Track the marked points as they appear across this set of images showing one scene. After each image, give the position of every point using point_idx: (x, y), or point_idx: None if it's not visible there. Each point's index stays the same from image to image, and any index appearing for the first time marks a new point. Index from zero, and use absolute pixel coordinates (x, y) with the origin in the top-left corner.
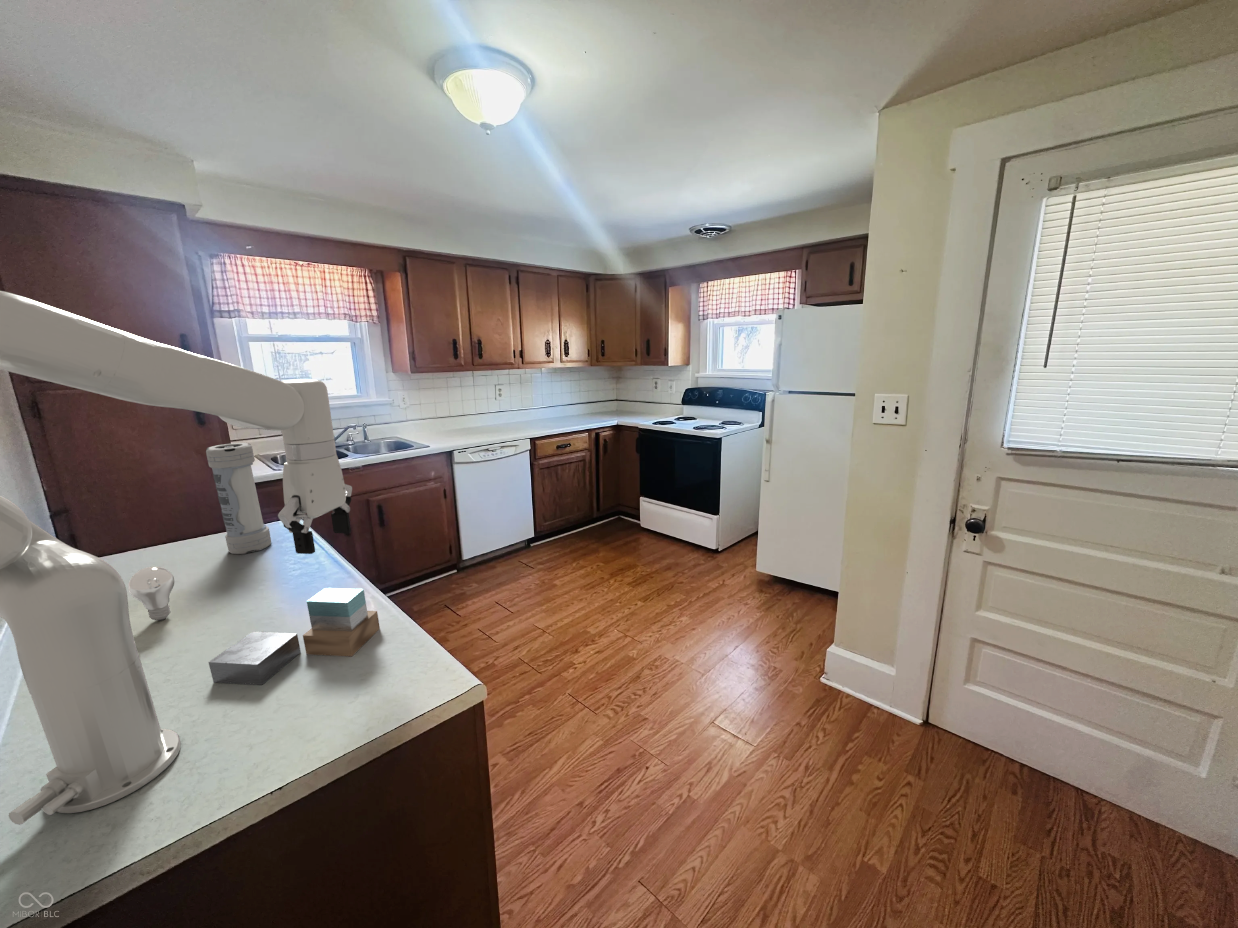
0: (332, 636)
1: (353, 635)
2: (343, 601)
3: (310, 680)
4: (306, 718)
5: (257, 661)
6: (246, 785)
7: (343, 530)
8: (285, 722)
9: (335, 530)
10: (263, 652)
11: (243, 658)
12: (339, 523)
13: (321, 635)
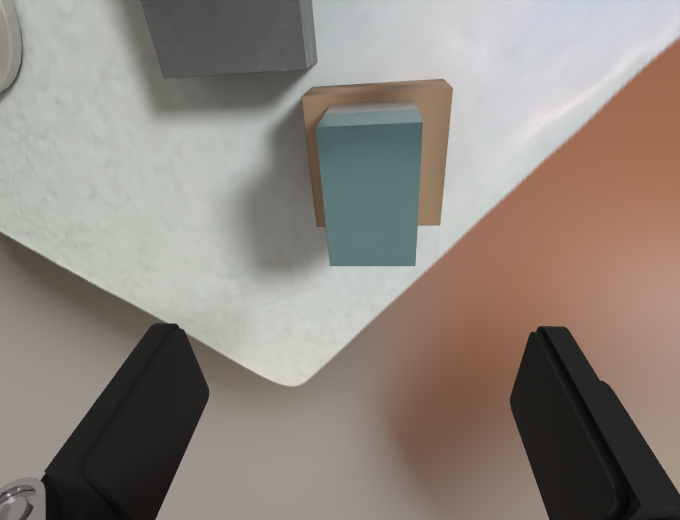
0: (313, 186)
1: None
2: (334, 252)
3: (239, 172)
4: (168, 233)
5: (172, 66)
6: (60, 240)
7: (520, 400)
8: (148, 207)
9: (535, 355)
10: (205, 44)
11: (164, 1)
12: (549, 438)
13: (310, 154)
